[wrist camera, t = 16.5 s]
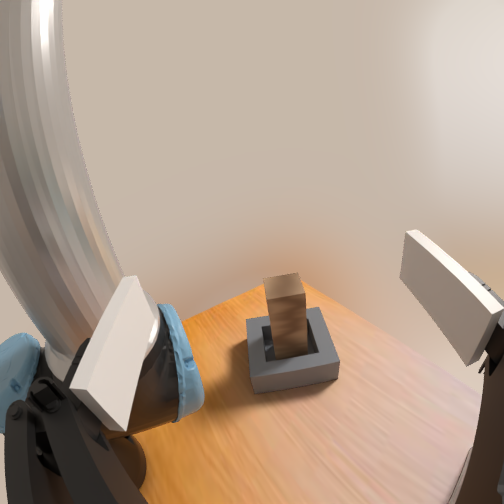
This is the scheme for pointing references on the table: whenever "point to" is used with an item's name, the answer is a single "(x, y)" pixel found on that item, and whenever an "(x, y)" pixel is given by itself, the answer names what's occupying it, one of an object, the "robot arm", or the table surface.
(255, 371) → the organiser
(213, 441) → the table surface
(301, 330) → the walnut block
